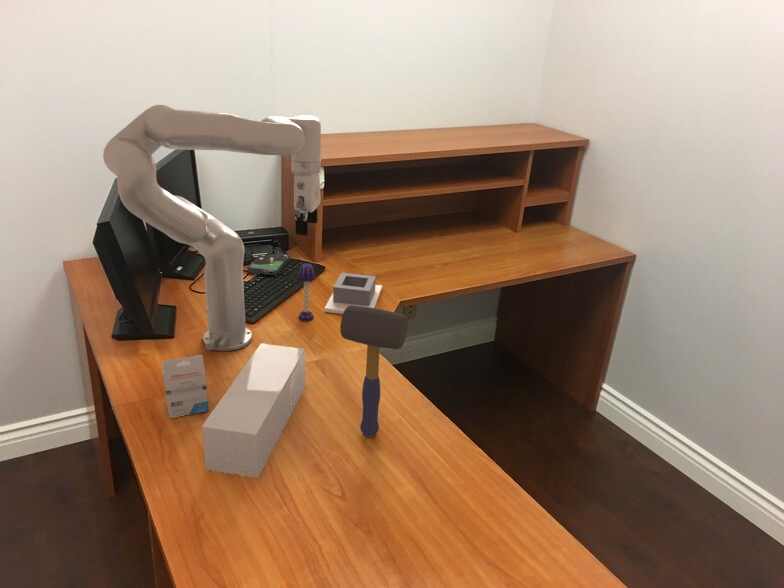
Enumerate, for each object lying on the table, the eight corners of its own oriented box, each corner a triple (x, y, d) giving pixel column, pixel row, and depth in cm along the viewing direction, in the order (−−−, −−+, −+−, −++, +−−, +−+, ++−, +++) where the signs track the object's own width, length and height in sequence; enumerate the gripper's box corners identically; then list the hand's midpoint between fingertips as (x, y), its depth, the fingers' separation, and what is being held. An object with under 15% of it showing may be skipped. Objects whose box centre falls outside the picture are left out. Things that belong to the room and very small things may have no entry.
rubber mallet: (401, 430, 136) (411, 307, 123) (391, 451, 129) (400, 324, 116) (348, 417, 139) (351, 296, 126) (335, 437, 132) (338, 312, 119)
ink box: (206, 399, 142) (200, 343, 136) (209, 411, 138) (204, 354, 132) (166, 406, 139) (159, 349, 133) (169, 419, 135) (161, 361, 128)
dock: (371, 317, 182) (371, 298, 180) (324, 311, 184) (324, 292, 181) (381, 288, 200) (382, 271, 198) (339, 284, 202) (339, 266, 199)
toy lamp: (317, 315, 181) (317, 263, 174) (311, 323, 177) (311, 269, 170) (302, 313, 182) (301, 260, 175) (295, 320, 178) (295, 266, 171)
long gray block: (262, 381, 150) (260, 343, 146) (305, 387, 149) (305, 348, 144) (205, 471, 122) (201, 426, 117) (258, 479, 120) (255, 434, 116)
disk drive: (262, 258, 219) (247, 274, 206) (262, 251, 218) (246, 266, 205) (291, 261, 218) (277, 278, 205) (291, 254, 217) (277, 270, 204)
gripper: (311, 175, 153) (312, 241, 160) (328, 159, 168) (327, 219, 176) (281, 173, 153) (283, 238, 161) (301, 157, 169) (302, 217, 176)
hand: (306, 228), depth 168 cm, fingers open, 9 cm apart
